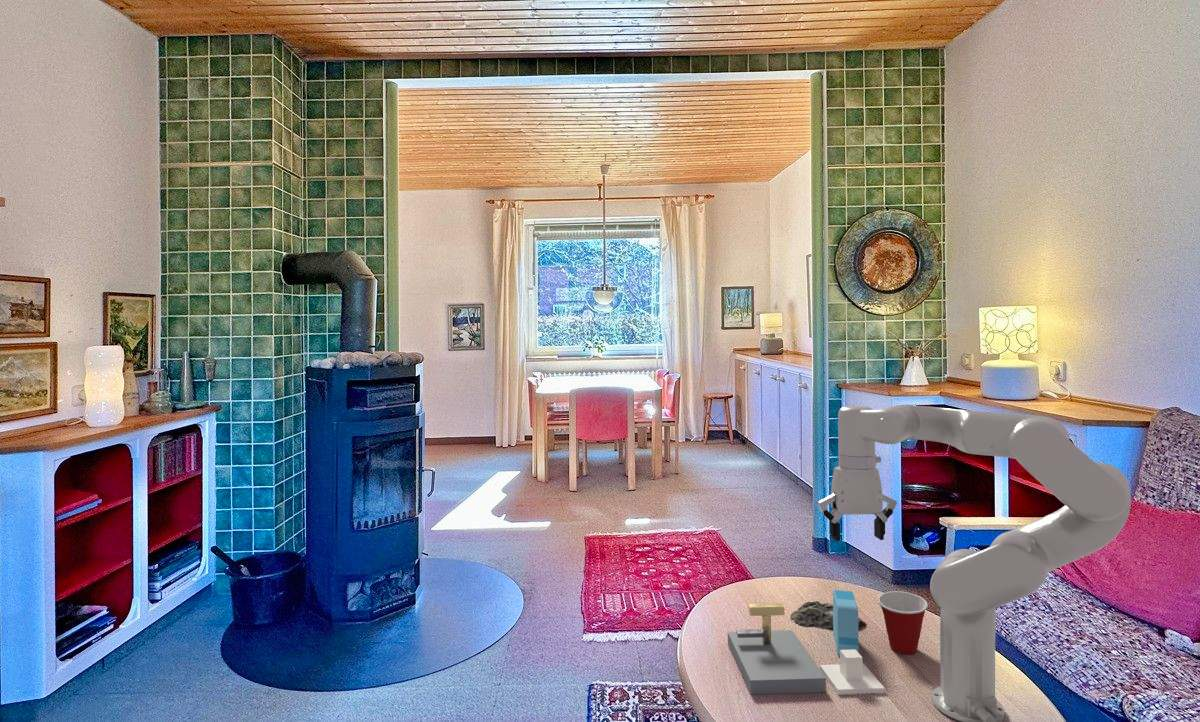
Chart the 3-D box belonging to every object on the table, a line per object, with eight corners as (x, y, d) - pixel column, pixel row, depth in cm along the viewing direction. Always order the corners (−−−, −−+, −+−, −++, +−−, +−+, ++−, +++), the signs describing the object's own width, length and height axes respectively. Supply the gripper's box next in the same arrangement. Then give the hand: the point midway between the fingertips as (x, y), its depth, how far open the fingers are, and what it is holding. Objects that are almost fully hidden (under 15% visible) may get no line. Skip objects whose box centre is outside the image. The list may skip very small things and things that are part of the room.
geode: (788, 604, 177) (791, 627, 163) (788, 590, 177) (791, 613, 162) (860, 611, 172) (869, 636, 158) (860, 597, 172) (869, 620, 158)
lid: (884, 695, 131) (884, 664, 131) (837, 696, 131) (837, 666, 131) (863, 670, 141) (863, 641, 141) (819, 671, 141) (819, 643, 141)
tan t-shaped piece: (738, 644, 147) (737, 607, 147) (736, 640, 149) (735, 604, 149) (784, 643, 147) (784, 606, 147) (782, 639, 149) (782, 603, 149)
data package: (858, 660, 145) (858, 609, 144) (838, 658, 146) (837, 607, 146) (852, 636, 156) (851, 589, 156) (833, 634, 158) (832, 587, 157)
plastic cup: (869, 647, 151) (868, 598, 150) (892, 634, 157) (891, 587, 157) (914, 665, 142) (913, 613, 141) (936, 650, 148) (936, 600, 148)
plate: (825, 692, 132) (825, 678, 132) (750, 694, 132) (750, 680, 132) (792, 642, 154) (792, 630, 154) (727, 643, 154) (727, 631, 154)
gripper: (887, 458, 142) (888, 532, 142) (811, 460, 141) (812, 534, 142) (904, 464, 134) (904, 543, 135) (824, 466, 134) (825, 545, 134)
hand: (857, 538), depth 138 cm, fingers open, 9 cm apart
